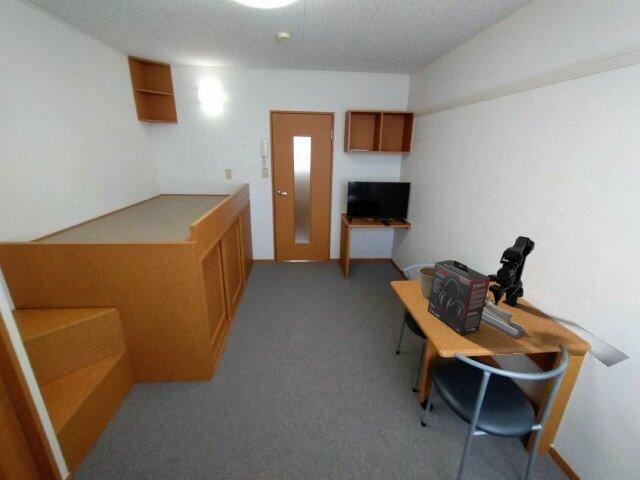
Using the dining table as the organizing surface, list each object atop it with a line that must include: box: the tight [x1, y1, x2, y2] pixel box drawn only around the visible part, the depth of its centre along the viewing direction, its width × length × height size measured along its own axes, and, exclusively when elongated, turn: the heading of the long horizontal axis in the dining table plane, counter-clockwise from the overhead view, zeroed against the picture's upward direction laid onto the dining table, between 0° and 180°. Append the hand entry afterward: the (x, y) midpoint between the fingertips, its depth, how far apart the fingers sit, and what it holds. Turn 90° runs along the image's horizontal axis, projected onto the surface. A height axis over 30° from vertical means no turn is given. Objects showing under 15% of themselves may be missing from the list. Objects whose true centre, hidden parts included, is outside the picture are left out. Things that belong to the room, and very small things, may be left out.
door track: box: [481, 307, 526, 339], centre depth 150 cm, size 10×24×4 cm, turn 28°
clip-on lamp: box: [484, 293, 499, 307], centre depth 167 cm, size 12×6×18 cm
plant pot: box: [418, 266, 434, 299], centre depth 175 cm, size 15×15×16 cm
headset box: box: [427, 259, 491, 336], centre depth 147 cm, size 24×13×33 cm, turn 21°
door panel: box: [484, 302, 513, 326], centre depth 149 cm, size 3×12×7 cm, turn 28°
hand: (501, 301), depth 148 cm, fingers open, 9 cm apart
